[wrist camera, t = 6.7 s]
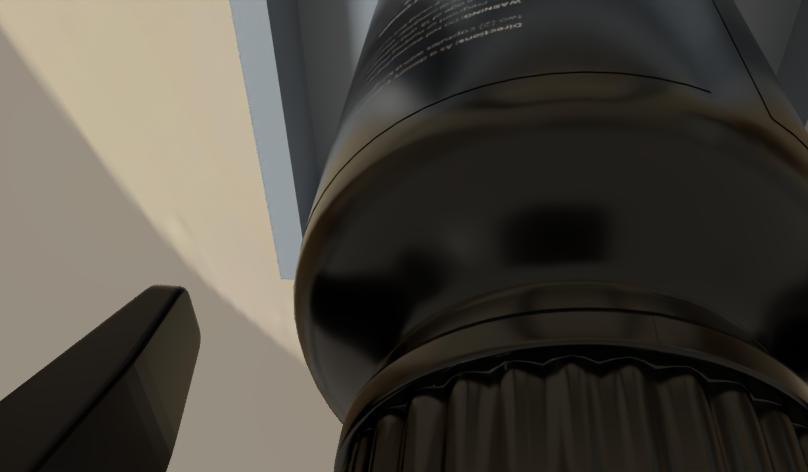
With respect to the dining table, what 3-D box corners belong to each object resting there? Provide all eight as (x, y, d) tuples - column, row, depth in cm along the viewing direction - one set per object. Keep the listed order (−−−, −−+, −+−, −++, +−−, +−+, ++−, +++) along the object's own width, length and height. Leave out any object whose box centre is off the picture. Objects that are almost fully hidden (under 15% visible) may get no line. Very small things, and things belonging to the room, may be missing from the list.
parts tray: (742, 237, 19) (768, 311, 17) (304, 212, 20) (281, 278, 18) (940, -323, 11) (1026, -308, 10) (229, -307, 13) (175, -291, 11)
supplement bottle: (399, 174, 18) (278, 744, 9) (356, -126, 14) (39, 394, 5) (694, 167, 17) (892, 812, 8) (748, -163, 13) (1322, 429, 4)
